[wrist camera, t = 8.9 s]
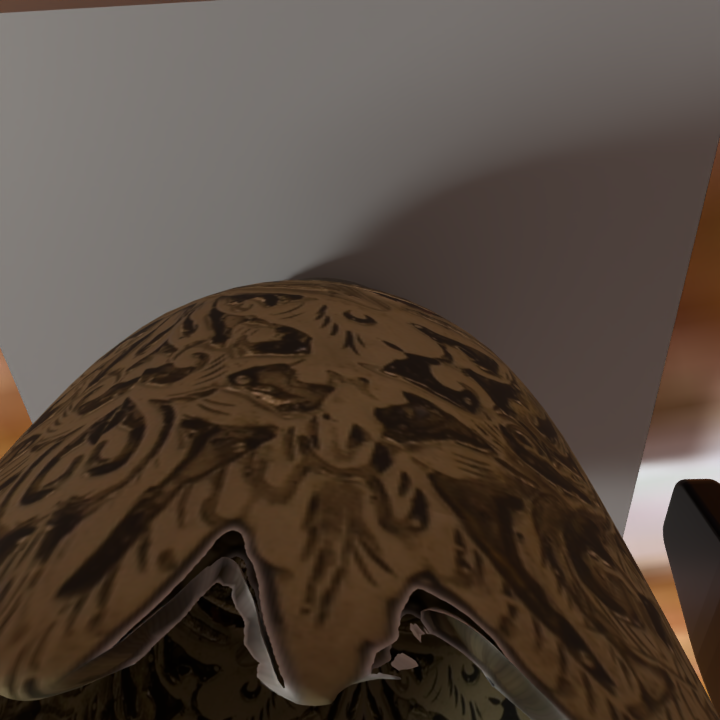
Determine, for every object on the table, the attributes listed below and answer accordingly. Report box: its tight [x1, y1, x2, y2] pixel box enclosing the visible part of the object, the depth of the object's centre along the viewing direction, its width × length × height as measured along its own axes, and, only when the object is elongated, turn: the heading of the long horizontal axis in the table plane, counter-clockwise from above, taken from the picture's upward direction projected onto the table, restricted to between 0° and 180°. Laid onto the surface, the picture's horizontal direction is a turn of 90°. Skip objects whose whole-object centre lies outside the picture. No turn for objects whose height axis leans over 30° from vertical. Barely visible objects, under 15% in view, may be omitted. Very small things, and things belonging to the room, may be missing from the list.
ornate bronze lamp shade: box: [0, 278, 720, 720], centre depth 8 cm, size 8×7×8 cm
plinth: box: [0, 0, 720, 538], centre depth 13 cm, size 11×11×3 cm
